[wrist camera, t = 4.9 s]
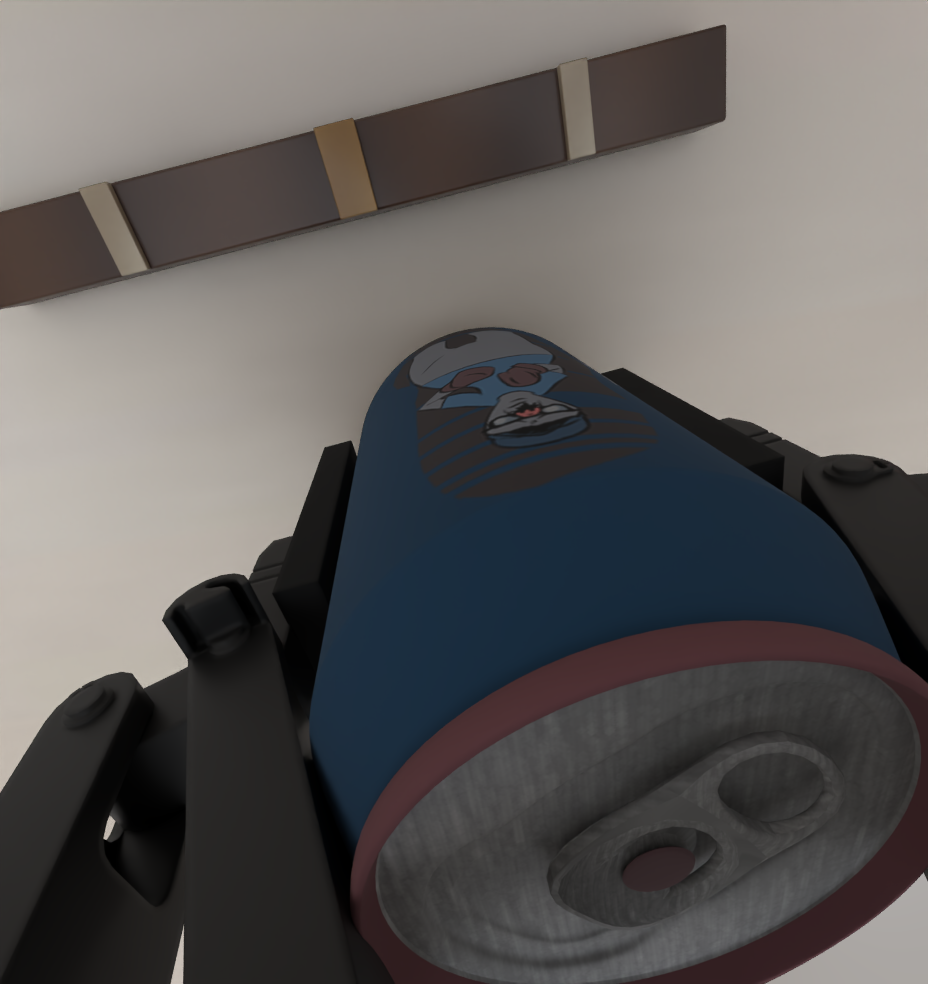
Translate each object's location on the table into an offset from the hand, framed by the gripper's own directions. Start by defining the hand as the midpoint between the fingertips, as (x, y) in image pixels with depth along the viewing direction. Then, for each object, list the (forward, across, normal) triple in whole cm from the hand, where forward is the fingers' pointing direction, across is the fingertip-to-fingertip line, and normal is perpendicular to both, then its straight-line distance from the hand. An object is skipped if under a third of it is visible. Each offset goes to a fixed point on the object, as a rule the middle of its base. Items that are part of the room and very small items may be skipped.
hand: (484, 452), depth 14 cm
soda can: (+1, 0, 0) cm, 1 cm away
